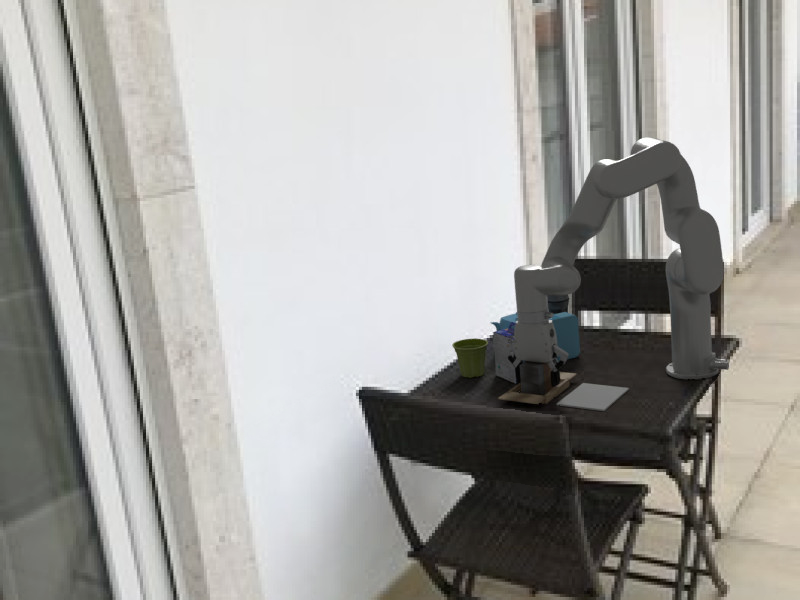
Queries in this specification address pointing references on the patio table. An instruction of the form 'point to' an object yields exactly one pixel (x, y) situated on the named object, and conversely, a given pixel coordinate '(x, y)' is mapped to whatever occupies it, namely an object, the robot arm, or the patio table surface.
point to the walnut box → (535, 378)
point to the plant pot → (471, 356)
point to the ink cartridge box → (501, 360)
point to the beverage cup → (558, 303)
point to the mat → (593, 396)
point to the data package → (567, 333)
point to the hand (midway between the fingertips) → (538, 383)
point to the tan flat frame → (536, 399)
